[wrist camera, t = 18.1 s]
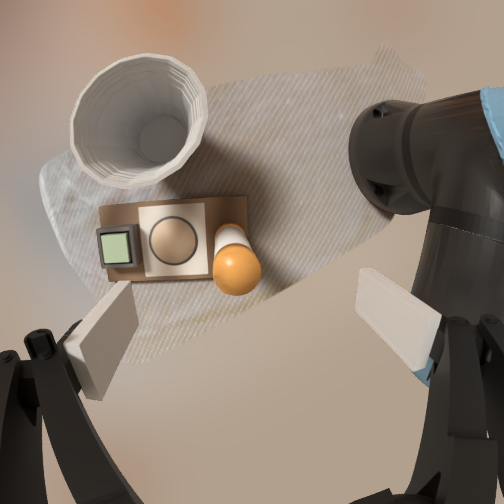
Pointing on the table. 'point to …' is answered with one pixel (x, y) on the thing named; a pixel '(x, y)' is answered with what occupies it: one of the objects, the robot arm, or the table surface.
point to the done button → (116, 247)
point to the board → (169, 236)
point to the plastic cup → (138, 121)
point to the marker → (234, 261)
